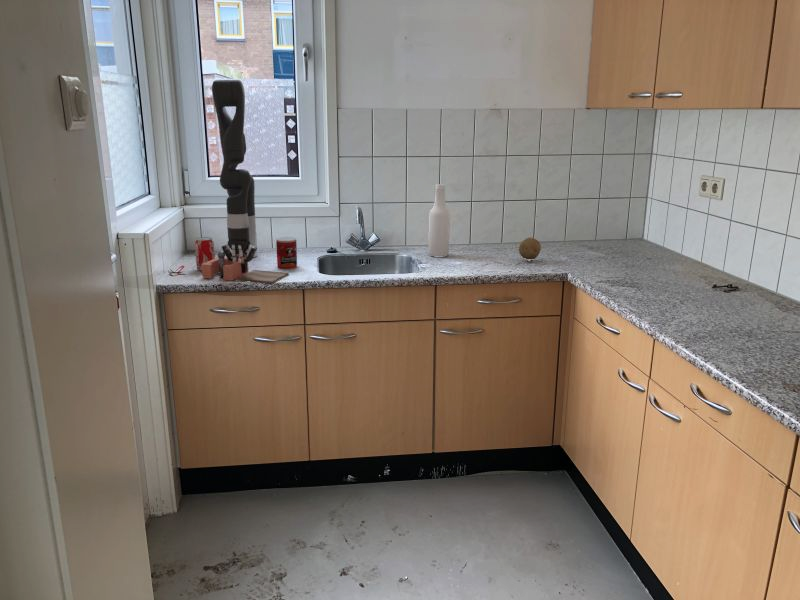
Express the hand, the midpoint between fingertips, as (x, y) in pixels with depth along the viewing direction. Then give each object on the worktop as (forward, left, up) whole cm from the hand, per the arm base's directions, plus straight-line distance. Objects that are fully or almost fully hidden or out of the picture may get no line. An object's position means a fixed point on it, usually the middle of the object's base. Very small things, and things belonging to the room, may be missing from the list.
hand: (240, 272), depth 241 cm
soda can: (-5, -17, -1) cm, 18 cm away
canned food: (-19, +10, -1) cm, 21 cm away
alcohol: (-58, +62, -1) cm, 85 cm away
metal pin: (+4, -5, -1) cm, 7 cm away
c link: (+2, -5, -1) cm, 5 cm away
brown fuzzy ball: (-58, +100, -1) cm, 115 cm away
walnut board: (0, +9, -1) cm, 9 cm away
